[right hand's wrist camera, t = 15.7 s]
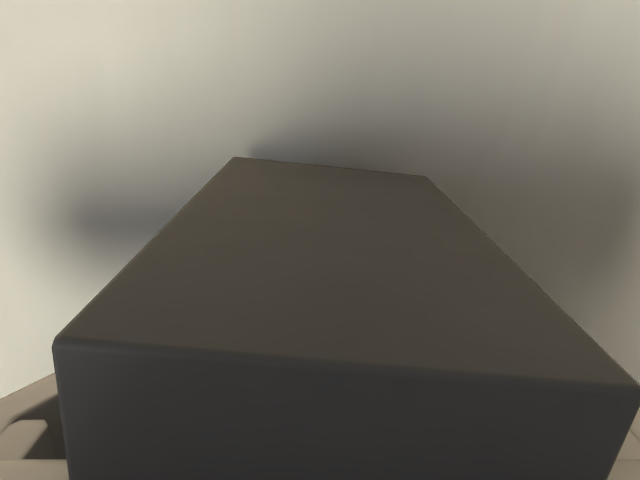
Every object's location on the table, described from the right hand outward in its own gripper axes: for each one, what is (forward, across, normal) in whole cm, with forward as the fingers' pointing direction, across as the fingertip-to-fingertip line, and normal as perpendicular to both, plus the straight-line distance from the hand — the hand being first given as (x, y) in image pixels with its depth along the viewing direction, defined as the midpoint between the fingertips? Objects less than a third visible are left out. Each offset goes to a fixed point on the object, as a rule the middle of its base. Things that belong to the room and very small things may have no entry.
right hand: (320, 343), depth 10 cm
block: (+4, -1, -10) cm, 11 cm away
